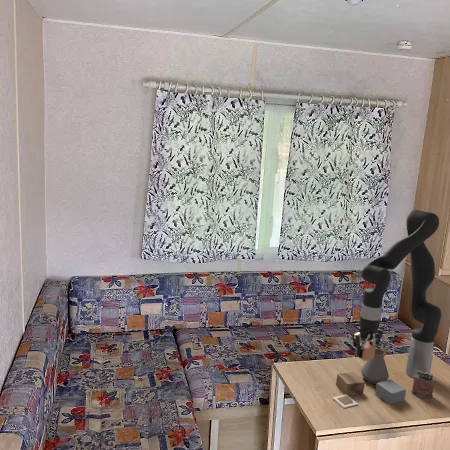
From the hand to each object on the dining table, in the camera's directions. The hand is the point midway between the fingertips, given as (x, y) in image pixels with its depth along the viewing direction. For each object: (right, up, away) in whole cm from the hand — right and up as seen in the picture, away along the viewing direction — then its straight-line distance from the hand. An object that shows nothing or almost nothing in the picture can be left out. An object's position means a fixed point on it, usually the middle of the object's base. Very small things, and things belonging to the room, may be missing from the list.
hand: (364, 355), depth 193 cm
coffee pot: (+7, -14, +21) cm, 26 cm away
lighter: (+25, -18, +8) cm, 32 cm away
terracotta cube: (0, 0, 0) cm, 0 cm away
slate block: (+11, -18, +4) cm, 21 cm away
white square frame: (-8, -17, -1) cm, 19 cm away
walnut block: (-4, -16, +8) cm, 18 cm away
